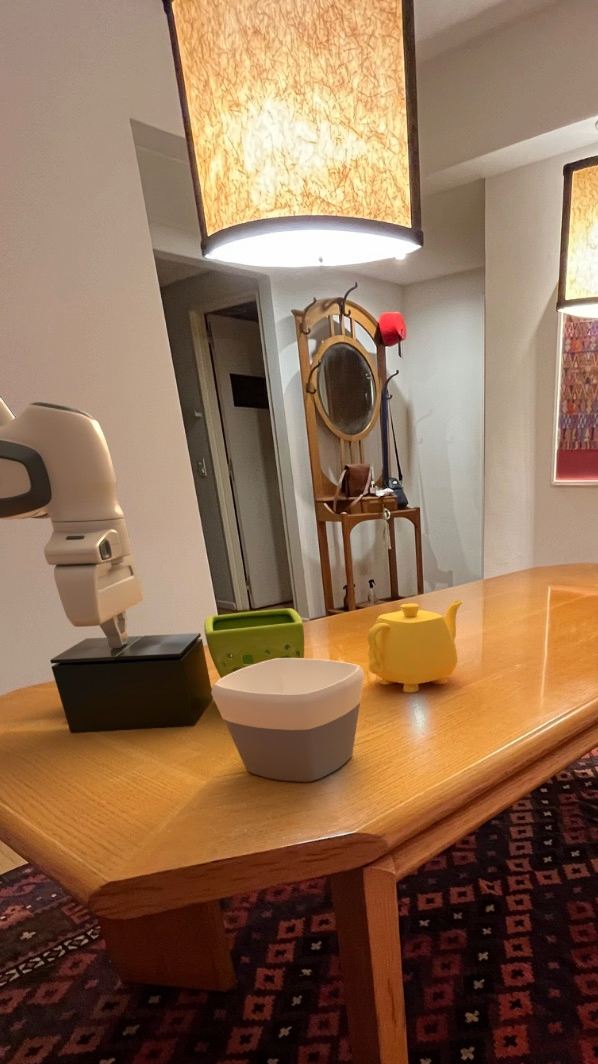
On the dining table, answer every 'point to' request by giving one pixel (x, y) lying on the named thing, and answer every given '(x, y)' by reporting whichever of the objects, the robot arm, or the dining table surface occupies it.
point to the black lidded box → (138, 686)
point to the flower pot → (253, 638)
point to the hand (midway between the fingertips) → (119, 645)
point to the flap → (93, 651)
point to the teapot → (413, 646)
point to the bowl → (292, 715)
